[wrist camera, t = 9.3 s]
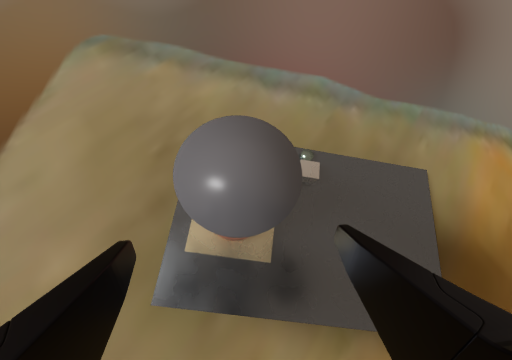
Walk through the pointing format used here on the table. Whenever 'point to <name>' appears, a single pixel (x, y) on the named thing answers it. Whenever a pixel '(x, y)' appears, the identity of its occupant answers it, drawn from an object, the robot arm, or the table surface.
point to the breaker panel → (302, 246)
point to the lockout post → (237, 176)
